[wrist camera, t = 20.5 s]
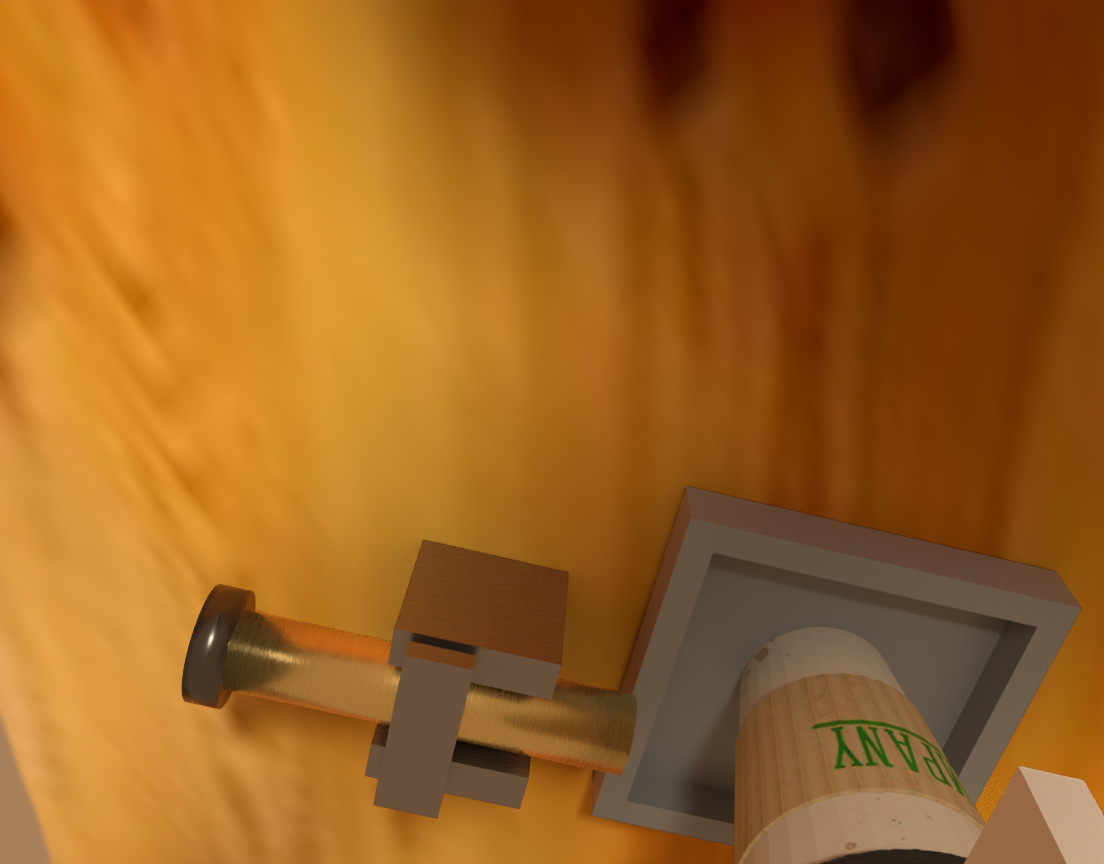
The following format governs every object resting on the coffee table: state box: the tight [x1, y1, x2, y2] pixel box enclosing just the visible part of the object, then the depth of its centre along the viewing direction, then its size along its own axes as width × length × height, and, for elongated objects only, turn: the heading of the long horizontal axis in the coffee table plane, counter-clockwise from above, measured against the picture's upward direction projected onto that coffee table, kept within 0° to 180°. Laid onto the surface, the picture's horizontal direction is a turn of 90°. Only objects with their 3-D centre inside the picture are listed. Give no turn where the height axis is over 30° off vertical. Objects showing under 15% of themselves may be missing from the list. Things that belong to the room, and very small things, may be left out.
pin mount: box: [365, 540, 568, 818], centre depth 40 cm, size 7×6×7 cm
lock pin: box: [182, 584, 637, 775], centre depth 39 cm, size 4×16×4 cm, turn 77°
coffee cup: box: [734, 627, 986, 864], centre depth 36 cm, size 10×10×15 cm
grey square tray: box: [592, 486, 1082, 846], centre depth 43 cm, size 15×15×2 cm
